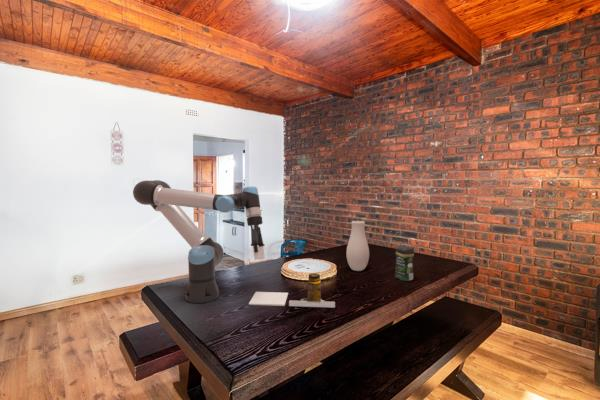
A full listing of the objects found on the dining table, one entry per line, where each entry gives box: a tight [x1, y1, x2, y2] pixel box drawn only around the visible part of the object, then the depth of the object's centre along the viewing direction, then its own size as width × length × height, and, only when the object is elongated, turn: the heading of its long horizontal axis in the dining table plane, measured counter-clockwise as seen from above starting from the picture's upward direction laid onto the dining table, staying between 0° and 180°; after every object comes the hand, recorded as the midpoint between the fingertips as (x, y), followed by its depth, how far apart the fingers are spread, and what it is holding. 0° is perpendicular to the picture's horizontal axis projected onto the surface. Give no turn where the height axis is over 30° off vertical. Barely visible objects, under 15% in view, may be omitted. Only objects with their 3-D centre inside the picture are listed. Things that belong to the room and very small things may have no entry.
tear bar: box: [288, 299, 336, 308], centre depth 131 cm, size 20×2×2 cm, turn 86°
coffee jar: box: [394, 245, 415, 282], centre depth 166 cm, size 10×8×19 cm
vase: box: [345, 220, 370, 272], centre depth 183 cm, size 14×14×30 cm
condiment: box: [300, 272, 325, 301], centre depth 137 cm, size 7×8×12 cm
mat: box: [248, 291, 289, 307], centre depth 139 cm, size 16×14×1 cm
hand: (260, 259), depth 146 cm, fingers open, 13 cm apart
